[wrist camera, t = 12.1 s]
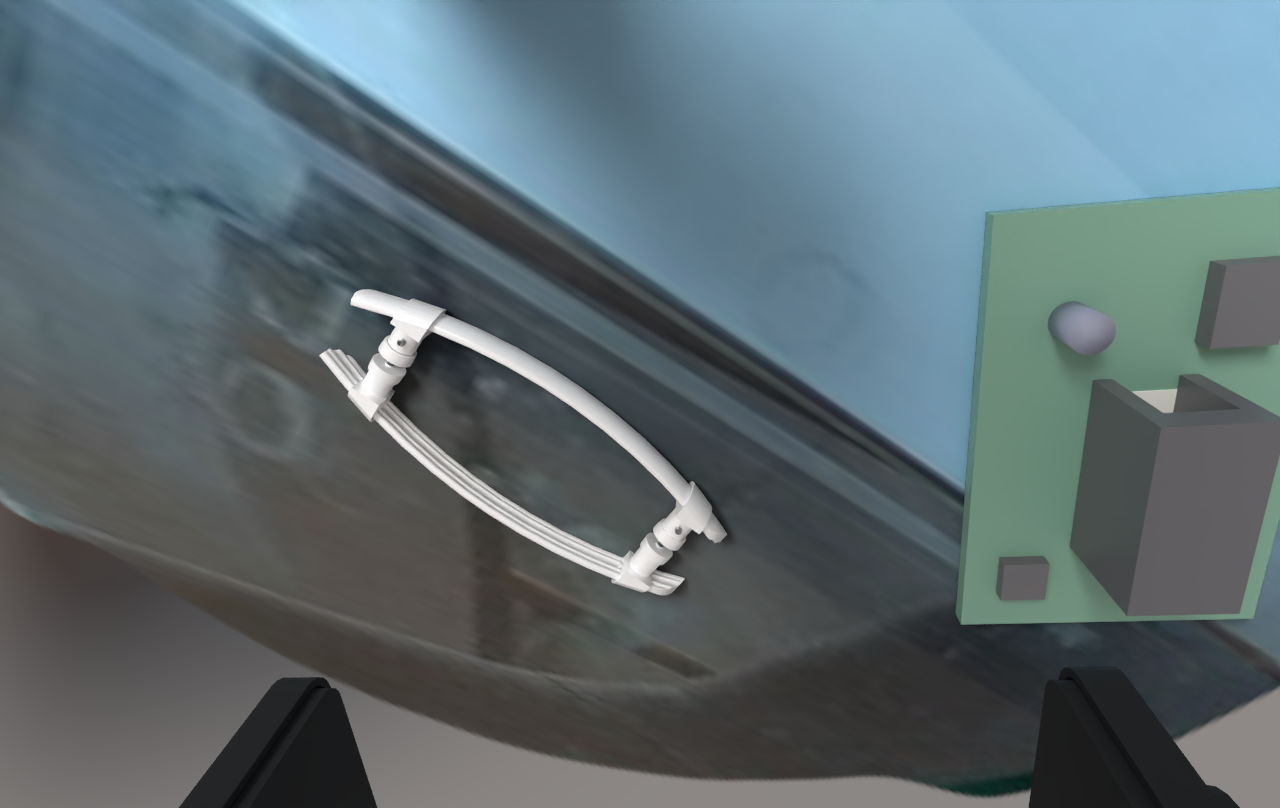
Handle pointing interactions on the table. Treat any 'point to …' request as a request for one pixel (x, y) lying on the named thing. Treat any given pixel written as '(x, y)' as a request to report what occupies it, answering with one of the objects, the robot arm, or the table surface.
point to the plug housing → (1174, 496)
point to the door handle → (375, 404)
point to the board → (1102, 374)
